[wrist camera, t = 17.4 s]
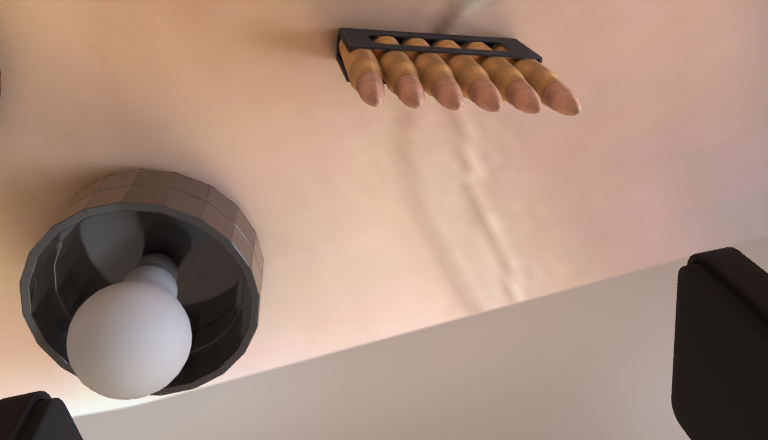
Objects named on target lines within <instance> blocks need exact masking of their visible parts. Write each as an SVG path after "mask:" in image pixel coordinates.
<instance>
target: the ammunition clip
mask: <svg viewBox="0 0 768 440" xmlns="http://www.w3.org/2000/svg"><path fill="white" fill-rule="evenodd" d="M336 60H337V62H338V64H339V66H340V68H341V70H342V72H343V74H344V76H345V78H346V81H347V82H350V83H351V85H352V87H353V88H354V89H355V90H356V91H358V93H359V95H360V97H361V98H362V99H363V101H364V102H366V103H367V104H368V105H371V106H379V105H380V104H381V103H382V102H383V100H384V96H385V90H384V84H386V85H387V87H388V88H389V89H390V90H391V91H392V92H393V93H394V94H396V95H397V96H398V98H399V99H400V100H401V101H402V102H403V103H404V104H405V105H406V106H408V107H411V108H419V107H421V106H422V104H423V102H424V91H425V92H426V93H427V94H428V95H430V96H433V97H434V98H435V99H436V100H437V101H438V102H439V103H440V104H441V105H443V106H444V107H446V108H448V109H450V110H459V109H461V107H462V106H463V102H464V99H463V96H464V97H466V98H468V99H470V100H472V101H473V102H475V103H476V104H477V105H478V106H479V107H481V108H482V109H484V110H487V111H490V112H498V111H500V110H501V108H502V105H503V103H502V100H504V101H507V102H508V103H510V104H512V105H513V106H514V107H515V108H517V109H519V110H521V111H523V112H525V113H530V114H537V113H539V112H540V111H541V109H542V103H543V104H544V105H546V106H548V107H550V108H551V109H553V110H555V111H557V112H559V113H561V114H564V115H569V116H575V115H578V114H579V113H580V112H581V106H580V103H579V101H578V99H577V97H576V96H575V95H574V94H573V93H572V91H571V90H570V89H569V88H567V87H566V86H565V85H564V84H563V83H562V82H561V81H560V80H559V78H558V77H557V76H556V74H555V73H554V72H552V71H551V70H550V69H548V68H547V67H545V66H544V65H542V64H541V63H542V57H541V56H539V55H538V54H537V53H535V52H534V51H532V50H531V49H529V48H528V47H527V46H525V45H524V44H522V43H521V42H520V41H518V40H517V39H507V38H491V37H476V36H460V35H445V34H429V33H413V32H398V31H382V30H367V29H351V28H340V29H338V36H337V56H336Z"/></svg>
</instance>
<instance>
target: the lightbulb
mask: <svg viewBox="0 0 768 440" xmlns="http://www.w3.org/2000/svg"><path fill="white" fill-rule="evenodd" d="M177 277H178V269H177V266H176V264H175V262H174V261H173V260H172V259H171V258H170V257H168V256H166V255H164V254H160V253H151V254H148V255H145V256H144V257H142V258H141V259H140V260H139V262H138V263H137V264H136V266H135V268H134V270H132V271H131V272H129V273H128V275H127V276H126V277H125V279H124V280H123V282H120V283H116V284H113V285H110V286H108V287H105V288H103V289H101V290H99V291H97V292H96V293H95V294H93V295H92V296H91V297H89V298H88V299H87V300H86V301H85V302H84V303H83V304H82V305H81V306H80V308H79V309H78V310H77V312H76V314H75V315H74V317H73V319H72V321H71V323H70V326H69V330H68V335H67V355H68V359H69V362H70V365H71V367H72V369H73V370H74V372H75V374H76V375H77V377H78V378H79V379H80V380H81V382H82V383H83V384H84V385H86V386H87V387H88V388H90V389H91V390H93V391H94V392H96V393H98V394H100V395H102V396H105V397H108V398H113V399H123V400H128V399H138V398H141V397H145V396H148V395H150V394H153V393H155V392H157V391H159V390H161V389H162V388H164V387H165V386H167V385H168V384H169V383H170V382H171V381H172V380H173V379H174V378H175V377H176V376H177V375H178V374H179V372H180V371H181V369H182V368H183V366H184V364H185V363H186V361H187V359H188V356H189V352H190V349H191V343H192V333H191V326H190V321H189V318H188V316H187V313H186V311H185V310H184V308H183V307H182V305H181V304H180V302H179V301H178V300H177V291H178V288H177V284H176V281H177Z"/></svg>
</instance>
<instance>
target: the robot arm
mask: <svg viewBox="0 0 768 440" xmlns="http://www.w3.org/2000/svg"><path fill="white" fill-rule="evenodd" d="M677 285H678V286H677V302H676V321H675V341H674V358H673V377H672V395H671V399H672V408H673V411H674V414H675V416H676V419H677V421H678V422H679V424H680V425H681V427H682V428H683V430H684V431H685V432H686V434H687V435H688V436H689V438H690V439H691V440H768V273H767V272H765V271H764V270H763V269H762V268H760V267H759V266H758V265H756V264H755V263H754V262H752V261H751V260H750V259H749V258H747V257H746V256H745V255H743V254H742V253H741V252H740V251H739V250H737V249H735V248H732V247H726V248H721V249H717V250H712V251H707V252H702V253H697V254H694V255H692V256H690V258H689V260H688V264H687V266H683V267H681V268H680V270H679V273H678V284H677ZM0 440H83V439H82V437H81V435H80V433H79V431H78V429H77V427H76V425H75V423H74V421H73V419H72V417H71V415H70V413H69V411H68V409H67V408H66V406H65V404H64V402H63V401H62V400H61V399H59V398H51V397H50V395H49V394H47V393H46V392H45V391H37V392H32V393H27V394H23V395H18V396H13V397H8V398H3V399H1V400H0Z"/></svg>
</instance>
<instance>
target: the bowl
mask: <svg viewBox="0 0 768 440" xmlns="http://www.w3.org/2000/svg"><path fill="white" fill-rule="evenodd" d="M151 253H160V254H164V255H166V256H168V257H170V258H171V259H172V260H173V261H174V262H175V264H176V266H177V269H178V277H177V281H176V284H177V288H178V291H177V300H178V301H179V302H180V304H181V305H182V307H183V308H184V310H185V311H186V313H187V316H188V318H189V321H190V326H191V333H192V343H191V349H190V352H189V356H188V359H187V361H186V363H185V364H184V366H183V368H182V369H181V371H180V372H179V374H178V375H177V376H176V377H175V378H174V379H173V380H172V381H171V382H170V383H169V384H168V385H167V386H165V387H164V388H162V389H161V390H159V391H157V392H155V393H153V394H150V395H160V396H161V395H167V394H171V393H176V392H181V391H185V390H190V389H194V388H197V387H199V386H201V385H203V384H205V383H207V382H209V381H211V380H212V379H214V378H216V377H218V376H220V375H222V374H224V373H225V372H226V371H227V370H228V369H229V368H230V367H231V366H232V365H233V364H234V363H235V362H236V361H237V360H238V359H239V358H240V357H241V356H242V355H243V354H244V353H245V352H246V350H247V348H248V346H249V344H250V342H251V340H252V338H253V336H254V334H255V332H256V329H257V327H258V319H259V308H260V297H261V286H262V273H263V261H264V260H263V255H262V252H261V248H260V245H259V241H258V238H257V234H256V232H255V230H254V228H253V227H252V226H251V224H250V223H249V221H248V220H247V219H246V217H245V216H244V214H243V213H242V212H241V210H240V209H239V207H238V206H237V205H236V204H235V203H233V202H232V201H231V200H229V199H228V198H227V197H225V196H224V195H223V194H221V193H220V192H219V191H217V190H216V189H215V188H213V187H212V186H210V185H208V184H205V183H203V182H200V181H197V180H195V179H192V178H190V177H187V176H184V175H182V174H179V173H176V172H165V171H154V170H144V169H141V170H135V171H130V172H125V173H120V174H115V175H110V176H107V177H104V178H102V179H100V180H99V181H97V182H95V183H93V184H92V185H90V186H88V187H86V188H84V189H83V190H81V191H79V192H78V193H76V194H75V196H74V197H73V198H72V199H71V200H70V201H69V203H68V204H67V205H66V206H65V207H64V209H63V210H62V211H61V212H60V213H59V214H58V216H57V217H56V218H55V220H54V221H53V222H52V223H51V225H50V226H49V227H48V229H47V230H46V231H45V233H44V234H43V235H42V237H41V238H40V239H39V240H38V242H37V243H36V244H35V246H34V247H33V248H32V250H31V251H30V253H29V255H28V258H27V261H26V264H25V267H24V270H23V274H22V277H21V280H20V293H21V303H22V313H23V316H24V318H25V320H26V322H27V324H28V326H29V328H30V330H31V332H32V334H33V336H34V338H35V340H36V342H37V343H38V345H39V346H40V347H41V348H42V349H43V350H44V351H45V352H46V353H47V354H48V355H49V356H50V357H51V358H52V359H53V360H54V361H55V362H56V363H57V364H58V365H59V366H60V367H62V368H63V369H65V370H67V371H68V372H70V373H72V374H74V375H75V376H77V375H76V374H75V372H74V370H73V369H72V367H71V365H70V362H69V359H68V355H67V335H68V330H69V326H70V323H71V321H72V319H73V317H74V315H75V314H76V312H77V310H78V309H79V308H80V306H81V305H82V304H83V303H84V302H85V301H86V300H87V299H88V298H89V297H91V296H92V295H93V294H95V293H96V292H97V291H99V290H101V289H103V288H105V287H108V286H110V285H113V284H116V283H120V282H123V280H124V279H125V277H126V276H127V275H128V273H129V272H131V271H132V270H134V268H135V266H136V264H137V263H138V262H139V260H140V259H141V258H142V257H144V256H145V255H148V254H151Z"/></svg>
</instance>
